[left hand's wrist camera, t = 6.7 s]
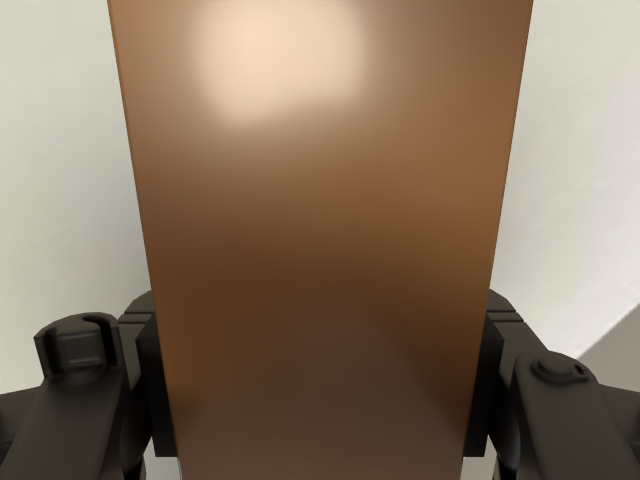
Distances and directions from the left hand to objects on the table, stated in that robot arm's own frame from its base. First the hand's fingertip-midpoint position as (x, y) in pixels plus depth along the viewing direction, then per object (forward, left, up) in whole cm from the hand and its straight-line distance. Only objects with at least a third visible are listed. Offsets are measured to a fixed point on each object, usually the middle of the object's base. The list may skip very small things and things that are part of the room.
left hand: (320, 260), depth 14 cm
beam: (+26, +19, -1) cm, 32 cm away
